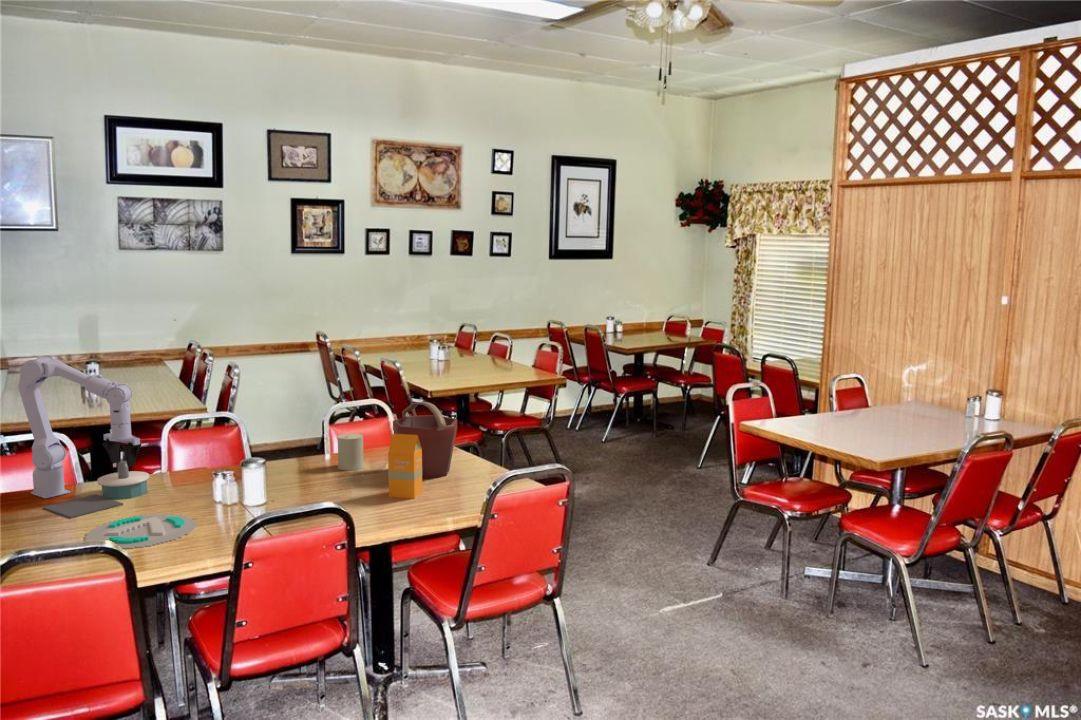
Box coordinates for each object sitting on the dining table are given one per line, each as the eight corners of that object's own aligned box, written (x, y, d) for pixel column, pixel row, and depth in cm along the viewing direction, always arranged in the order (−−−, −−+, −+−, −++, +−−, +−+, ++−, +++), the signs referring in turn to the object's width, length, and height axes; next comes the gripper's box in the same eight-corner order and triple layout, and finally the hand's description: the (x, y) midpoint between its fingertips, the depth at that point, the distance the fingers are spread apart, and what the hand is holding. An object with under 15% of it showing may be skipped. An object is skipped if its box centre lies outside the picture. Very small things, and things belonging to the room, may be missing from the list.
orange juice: (414, 498, 273) (413, 437, 270) (388, 496, 275) (387, 436, 272) (422, 491, 280) (422, 432, 278) (397, 490, 282) (396, 430, 279)
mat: (43, 508, 260) (43, 506, 260) (95, 495, 273) (95, 494, 273) (70, 518, 251) (70, 516, 251) (123, 504, 264) (123, 503, 264)
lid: (86, 482, 272) (85, 464, 271) (127, 471, 285) (126, 454, 284) (119, 488, 265) (118, 470, 264) (159, 477, 279) (158, 459, 278)
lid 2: (209, 516, 255) (209, 511, 255) (172, 550, 228) (172, 544, 228) (114, 516, 254) (114, 511, 254) (65, 550, 227) (65, 545, 227)
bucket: (388, 466, 311) (387, 399, 307) (447, 461, 319) (446, 395, 316) (405, 484, 288) (404, 412, 285) (467, 478, 297) (467, 407, 294)
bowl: (94, 494, 274) (93, 481, 274) (132, 485, 285) (132, 472, 284) (116, 501, 267) (115, 487, 266) (155, 491, 278) (154, 478, 277)
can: (333, 469, 307) (332, 436, 305) (346, 463, 316) (345, 431, 314) (356, 471, 304) (355, 438, 302) (368, 465, 313) (367, 433, 311)
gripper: (94, 422, 272) (96, 464, 274) (125, 427, 266) (127, 470, 268) (113, 418, 279) (116, 459, 280) (144, 423, 272) (146, 464, 274)
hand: (123, 464), depth 275 cm, fingers open, 7 cm apart
